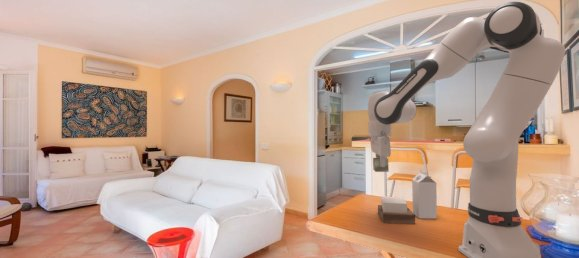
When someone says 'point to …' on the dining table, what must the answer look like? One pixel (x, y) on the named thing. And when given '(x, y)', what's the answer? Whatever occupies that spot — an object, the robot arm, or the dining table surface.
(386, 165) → the sage cube
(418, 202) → the milk carton
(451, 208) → the dining table surface
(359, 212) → the dining table surface
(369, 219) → the dining table surface
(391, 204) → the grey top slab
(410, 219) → the walnut base slab
